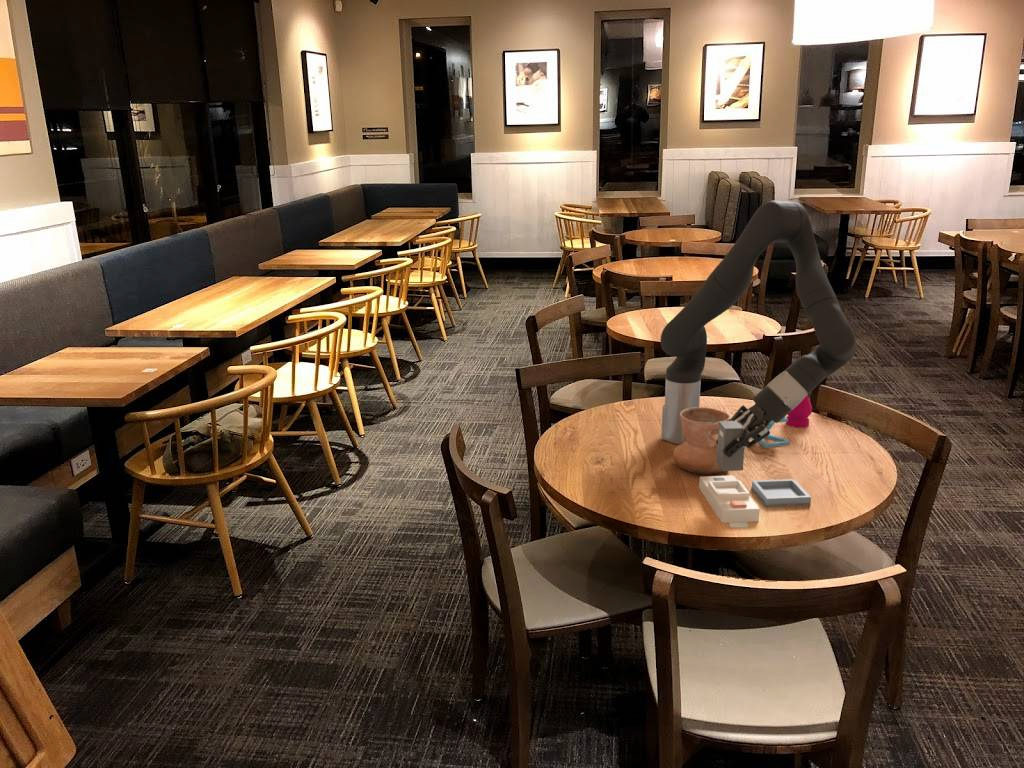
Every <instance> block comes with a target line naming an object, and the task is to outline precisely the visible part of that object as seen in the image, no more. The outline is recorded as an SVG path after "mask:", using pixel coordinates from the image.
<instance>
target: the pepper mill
mask: <svg viewBox="0 0 1024 768" xmlns="http://www.w3.org/2000/svg"><path fill="white" fill-rule="evenodd" d="M812 413H813V406H812V403H811V400H810V398H809V394H808V395H807V396H806V397H805V398H804V399H803V400H802V401H801V402H800V403H799V404H798V405H797V406H796V407H795V408H794V409H793V410H792V411H790V412H789V413H788V414H787V415H786V416H785V418H788V421H787V422H785V424H786V425H787V426H789V427H792V428H796V429H797V428H798V429H799V428H800V429H802V428H803V429H804V428H807V427H808V426H809V425H810V419H809V417H810V416H811V415H812Z"/></svg>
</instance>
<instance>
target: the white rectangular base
mask: <svg viewBox="0 0 1024 768" xmlns="http://www.w3.org/2000/svg"><path fill="white" fill-rule="evenodd" d="M698 485H699V486H698V489H699V490H700V493H702V494H703V497H705V499H706V501H707V503H708V504H709V505H710V507H711V509H712V510H713V511H714V513H715V515H716V516H717V518H718V519H719V520H720V523H721V524H727V523H728V524H729V523H731V524H732V523H752V522H759V521H760V510H761V509H760V508H759V506H758V505H757V503H756V502H755V501H754V500H753V499H752V497H751V496H750V494H751V492H750V491H749V490H748V489H747V488H746V486H745V485H744V484H743V483H742V482H741V480H740V479H737V478H736V477H735V475H734V474H733V475H731V474H730V475H710V476H709V475H708V476H699V484H698Z"/></svg>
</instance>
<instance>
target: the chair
mask: <svg viewBox="0 0 1024 768" xmlns="http://www.w3.org/2000/svg"><path fill="white" fill-rule="evenodd" d="M787 421H788V418H786V416H785V417H784V418H783V419H782V420H781V421H779V422H778V423H786V422H787ZM774 424H776V423H775V422H774V421H773V420H772V421H771V422H770V423H769V425H768V426H767V429H768V430H769V431H770V430H771V428H772V427H773V426H774ZM765 438H767V439H769V440H772V441H773V440H774V441H776V442H771V443H766V442H765V441H764V439H762V440H761V441H759V442H758V443H759V444H760V445H761V446H762V447H763V448H764V449H767V448H776V447H781V446H788V445H790V440H788V439H785V438H782V437H779V436H776V435H773V434H771V433H770V434H769V435H768V436H767V437H765Z"/></svg>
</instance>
